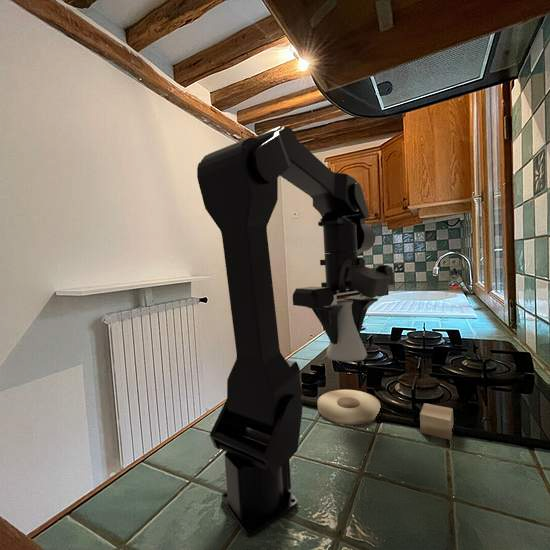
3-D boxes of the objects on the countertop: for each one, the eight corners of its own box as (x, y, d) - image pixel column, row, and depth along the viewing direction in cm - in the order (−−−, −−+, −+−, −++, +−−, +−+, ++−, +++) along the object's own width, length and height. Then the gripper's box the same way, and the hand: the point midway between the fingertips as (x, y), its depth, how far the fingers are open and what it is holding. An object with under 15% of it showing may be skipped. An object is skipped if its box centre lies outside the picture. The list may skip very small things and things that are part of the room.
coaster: (351, 432, 47) (351, 425, 47) (305, 407, 56) (304, 401, 56) (393, 409, 53) (393, 403, 53) (345, 389, 62) (345, 384, 62)
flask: (369, 363, 49) (366, 303, 49) (324, 363, 51) (321, 304, 51) (365, 350, 56) (363, 297, 56) (326, 350, 58) (323, 298, 58)
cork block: (451, 441, 43) (450, 420, 43) (420, 433, 46) (419, 414, 46) (453, 427, 47) (452, 408, 46) (425, 421, 49) (424, 403, 49)
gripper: (337, 251, 41) (343, 364, 42) (413, 248, 52) (417, 338, 52) (288, 255, 50) (293, 348, 51) (361, 252, 61) (365, 328, 61)
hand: (345, 340), depth 54 cm, fingers closed on flask, 5 cm apart
